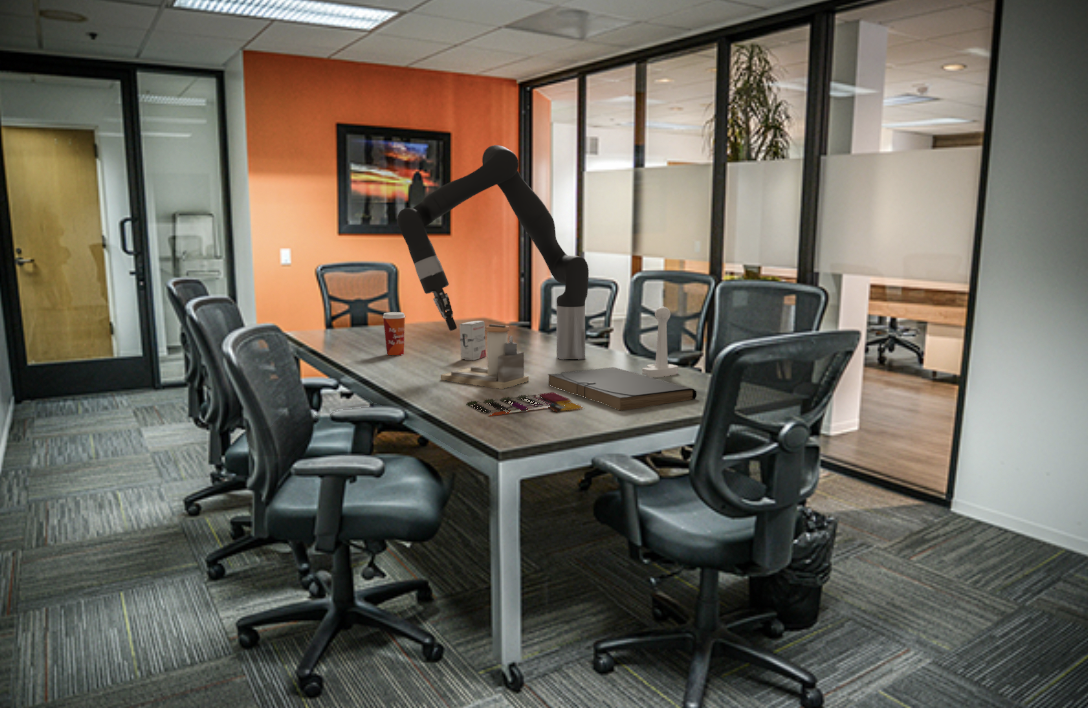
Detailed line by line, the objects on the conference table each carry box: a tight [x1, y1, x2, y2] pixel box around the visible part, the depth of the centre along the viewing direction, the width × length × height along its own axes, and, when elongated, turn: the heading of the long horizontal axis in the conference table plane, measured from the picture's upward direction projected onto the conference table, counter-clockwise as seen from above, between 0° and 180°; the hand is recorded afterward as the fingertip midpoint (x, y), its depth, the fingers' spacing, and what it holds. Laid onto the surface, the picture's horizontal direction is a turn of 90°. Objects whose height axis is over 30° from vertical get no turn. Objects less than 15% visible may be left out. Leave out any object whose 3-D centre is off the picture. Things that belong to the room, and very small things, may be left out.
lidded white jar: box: [485, 323, 510, 377], centre depth 210 cm, size 7×7×14 cm
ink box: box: [459, 320, 487, 361], centre depth 249 cm, size 9×5×12 cm, turn 154°
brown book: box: [547, 367, 698, 412], centre depth 200 cm, size 33×4×24 cm
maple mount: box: [440, 351, 530, 390], centre depth 214 cm, size 22×12×8 cm, turn 55°
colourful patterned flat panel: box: [465, 391, 584, 417], centre depth 184 cm, size 25×18×3 cm
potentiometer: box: [505, 335, 518, 355], centre depth 207 cm, size 3×3×5 cm
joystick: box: [641, 306, 679, 378], centre depth 221 cm, size 11×8×20 cm
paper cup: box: [382, 311, 406, 356], centre depth 256 cm, size 8×8×14 cm
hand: (453, 329), depth 223 cm, fingers closed
